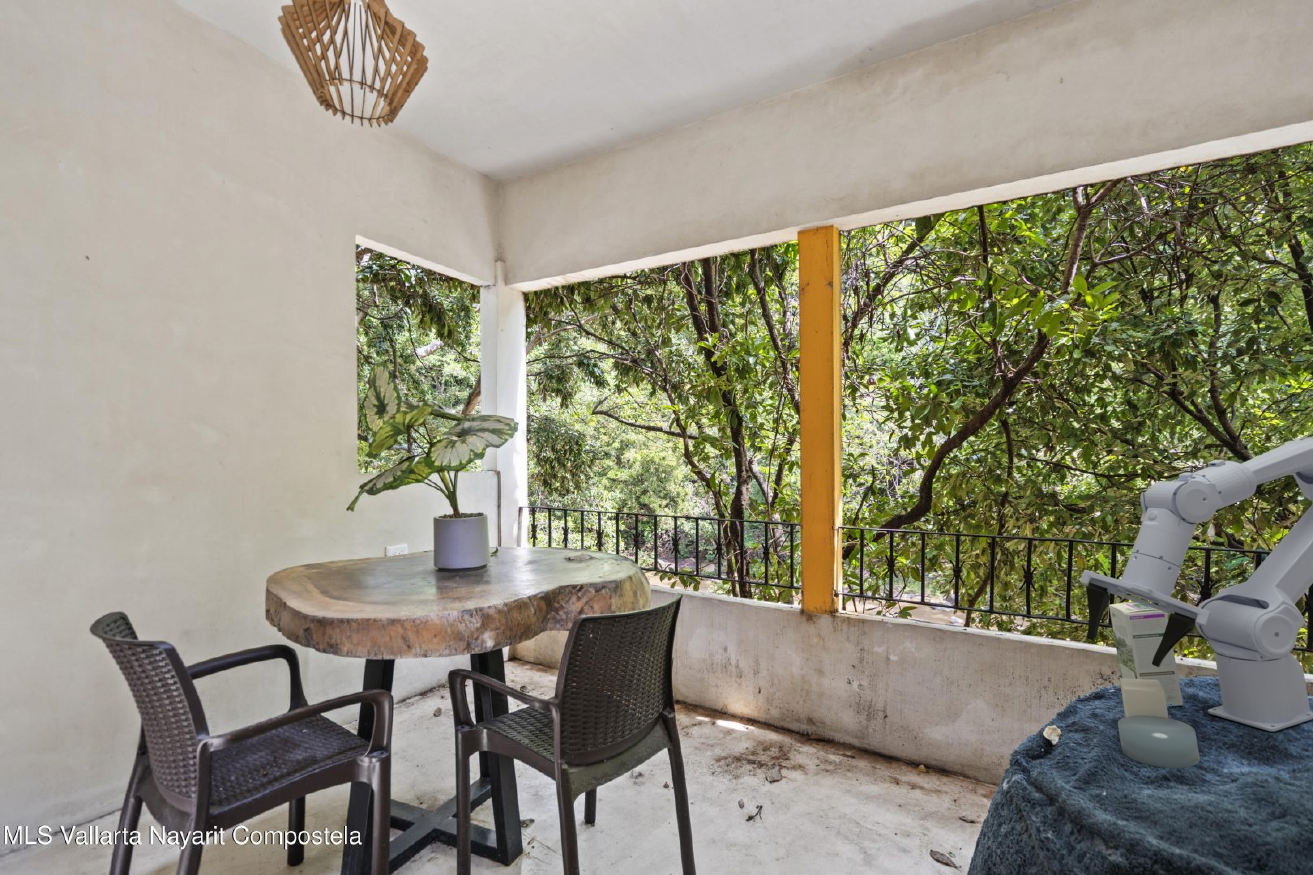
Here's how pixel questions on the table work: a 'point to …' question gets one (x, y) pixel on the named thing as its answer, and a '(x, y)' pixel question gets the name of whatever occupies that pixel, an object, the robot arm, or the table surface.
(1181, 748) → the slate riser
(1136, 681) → the cream block
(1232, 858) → the table surface
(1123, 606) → the syrup box
